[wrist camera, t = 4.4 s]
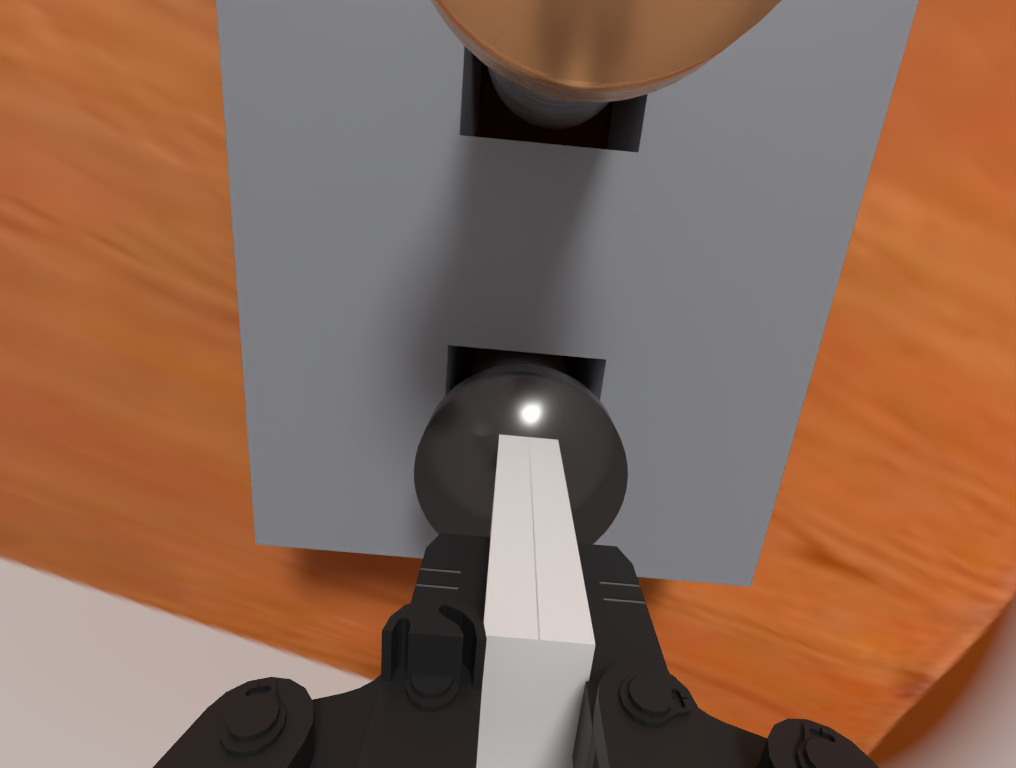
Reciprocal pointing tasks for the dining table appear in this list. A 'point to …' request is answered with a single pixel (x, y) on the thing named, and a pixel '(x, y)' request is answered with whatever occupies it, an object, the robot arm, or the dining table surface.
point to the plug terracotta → (593, 48)
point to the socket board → (539, 262)
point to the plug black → (518, 412)
